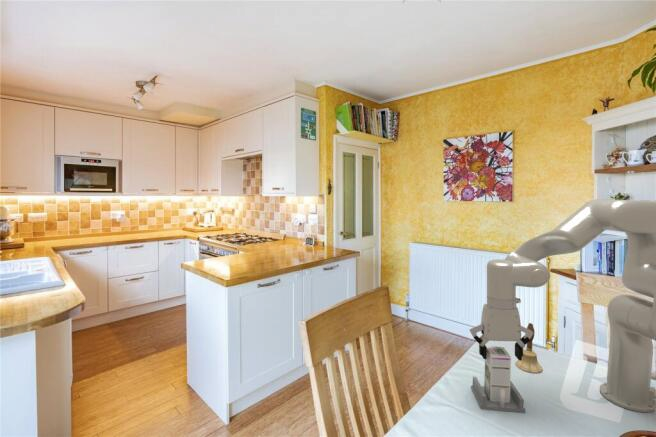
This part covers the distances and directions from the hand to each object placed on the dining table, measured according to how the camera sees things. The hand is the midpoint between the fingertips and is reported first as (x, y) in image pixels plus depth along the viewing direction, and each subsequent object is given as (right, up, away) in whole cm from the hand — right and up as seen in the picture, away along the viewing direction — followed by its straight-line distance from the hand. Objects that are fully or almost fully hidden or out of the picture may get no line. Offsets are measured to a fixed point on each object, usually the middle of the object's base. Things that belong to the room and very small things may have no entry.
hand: (500, 357), depth 97 cm
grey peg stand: (-1, -13, +1) cm, 13 cm away
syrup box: (-1, -13, +1) cm, 13 cm away
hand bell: (+20, -12, +19) cm, 30 cm away
